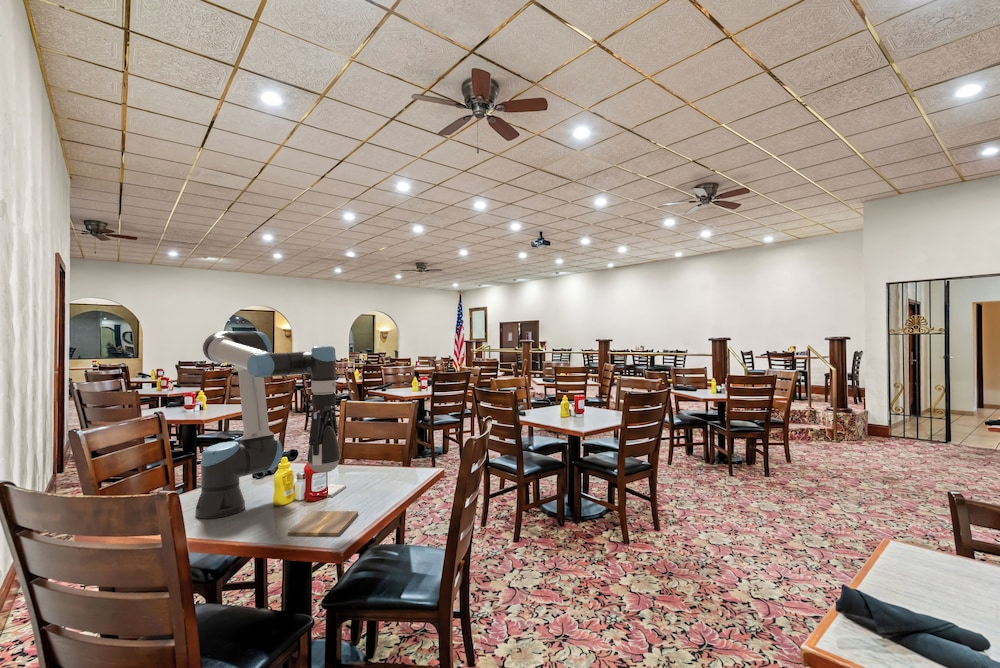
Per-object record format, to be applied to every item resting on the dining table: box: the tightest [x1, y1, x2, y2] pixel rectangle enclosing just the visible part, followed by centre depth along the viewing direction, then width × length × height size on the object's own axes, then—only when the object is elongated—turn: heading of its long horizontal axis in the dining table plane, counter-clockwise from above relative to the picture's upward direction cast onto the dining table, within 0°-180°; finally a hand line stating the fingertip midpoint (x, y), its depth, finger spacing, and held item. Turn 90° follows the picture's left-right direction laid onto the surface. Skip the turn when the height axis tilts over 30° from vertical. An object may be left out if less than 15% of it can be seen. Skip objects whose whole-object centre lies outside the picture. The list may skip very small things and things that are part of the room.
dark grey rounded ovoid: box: [306, 424, 341, 474], centre depth 156 cm, size 10×10×15 cm
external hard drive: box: [327, 483, 347, 498], centre depth 189 cm, size 2×8×12 cm
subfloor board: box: [287, 510, 359, 537], centre depth 156 cm, size 16×18×1 cm
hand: (324, 460), depth 156 cm, fingers closed on dark grey rounded ovoid, 10 cm apart
